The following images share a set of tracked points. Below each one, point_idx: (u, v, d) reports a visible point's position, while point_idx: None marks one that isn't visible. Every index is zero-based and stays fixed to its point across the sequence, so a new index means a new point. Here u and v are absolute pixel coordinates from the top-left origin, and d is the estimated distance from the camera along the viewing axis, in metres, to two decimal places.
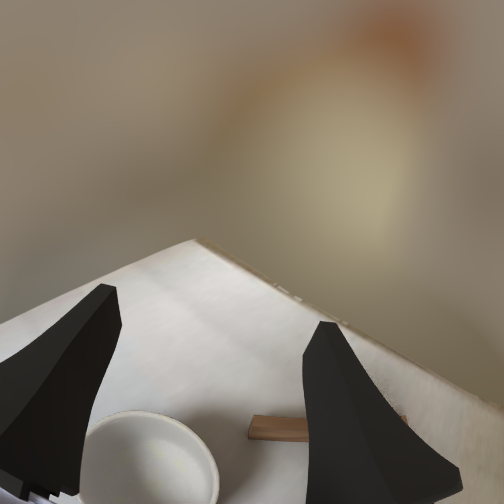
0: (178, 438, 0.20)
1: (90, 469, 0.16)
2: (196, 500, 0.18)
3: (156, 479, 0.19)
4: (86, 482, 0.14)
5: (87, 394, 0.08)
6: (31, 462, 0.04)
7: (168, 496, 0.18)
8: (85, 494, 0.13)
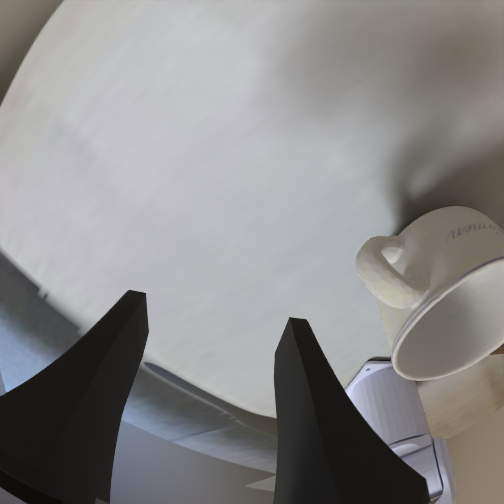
0: None
1: None
2: None
3: None
4: None
5: (118, 403, 0.08)
6: (71, 481, 0.04)
7: None
8: None
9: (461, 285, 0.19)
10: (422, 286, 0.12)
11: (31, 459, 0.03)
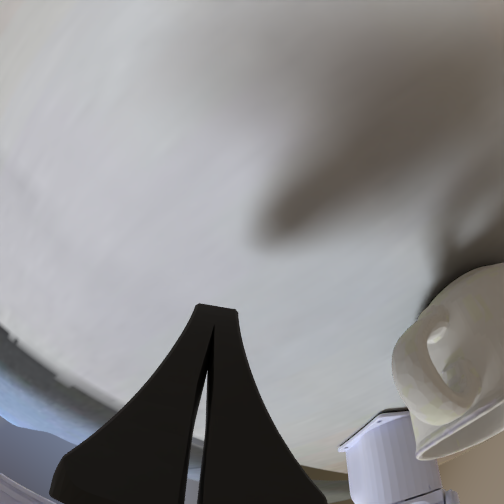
0: None
1: None
2: None
3: None
4: None
5: (194, 420, 0.08)
6: None
7: None
8: None
9: None
10: (474, 395, 0.07)
11: None
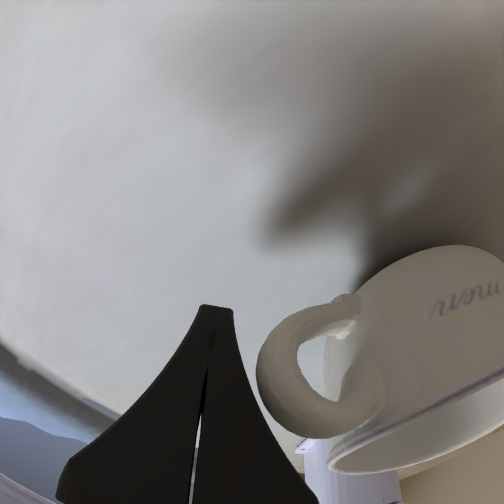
0: None
1: None
2: None
3: None
4: None
5: (198, 421, 0.08)
6: None
7: None
8: None
9: None
10: (367, 408, 0.07)
11: None
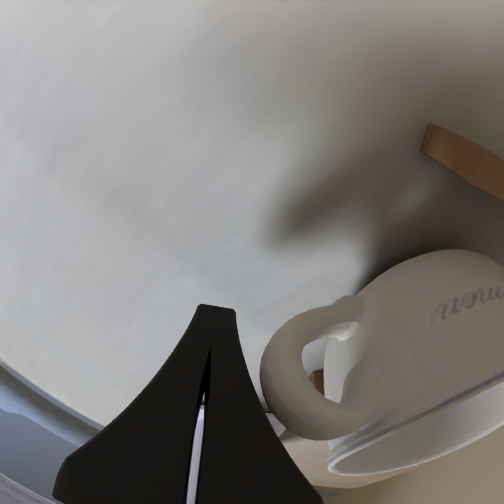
0: None
1: None
2: None
3: None
4: None
5: (196, 421, 0.08)
6: None
7: None
8: None
9: None
10: (370, 410, 0.07)
11: None
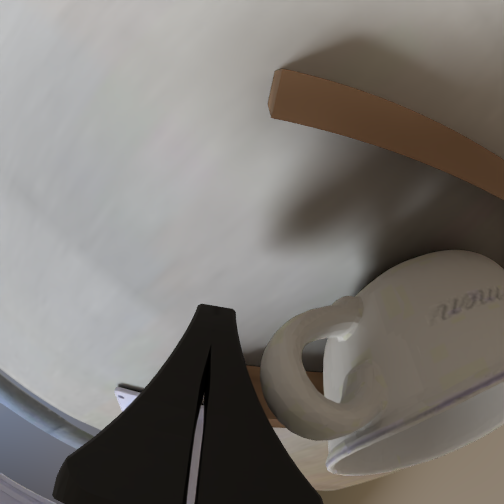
0: None
1: None
2: None
3: None
4: None
5: (196, 421, 0.08)
6: None
7: None
8: None
9: None
10: (371, 410, 0.07)
11: None
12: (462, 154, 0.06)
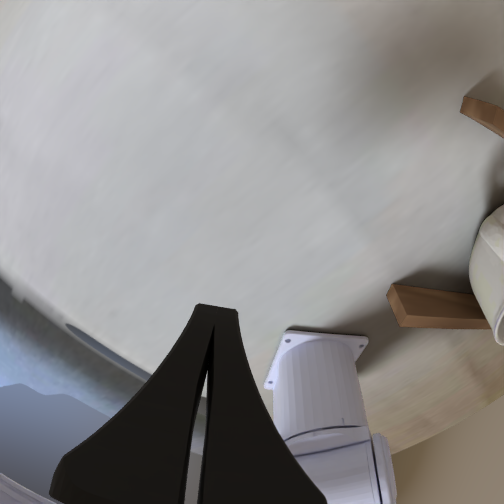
0: None
1: (495, 264, 0.15)
2: None
3: None
4: None
5: (194, 421, 0.08)
6: None
7: None
8: None
9: None
10: None
11: None
12: None
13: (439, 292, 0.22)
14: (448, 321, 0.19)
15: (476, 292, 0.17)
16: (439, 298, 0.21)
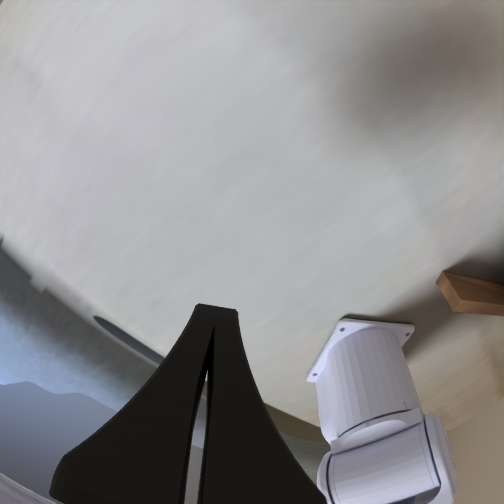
0: None
1: None
2: None
3: None
4: None
5: (194, 420, 0.08)
6: None
7: None
8: None
9: None
10: None
11: None
12: None
13: (479, 281, 0.21)
14: (490, 307, 0.19)
15: None
16: (480, 286, 0.20)
